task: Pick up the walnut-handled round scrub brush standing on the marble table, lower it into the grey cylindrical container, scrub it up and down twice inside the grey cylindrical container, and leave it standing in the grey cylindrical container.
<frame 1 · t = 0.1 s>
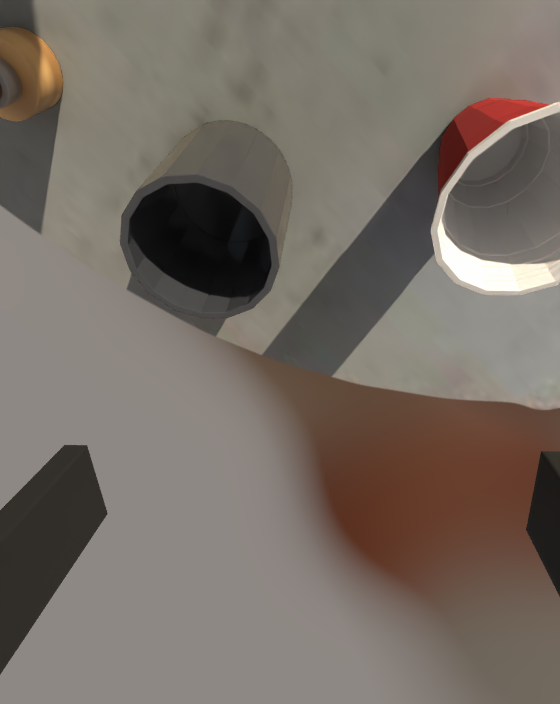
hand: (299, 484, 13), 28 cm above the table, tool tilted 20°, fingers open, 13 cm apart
plastic cup: (482, 143, 32), on the table
grey cylindrical container: (231, 187, 35), on the table
brush: (28, 69, 31), on the table
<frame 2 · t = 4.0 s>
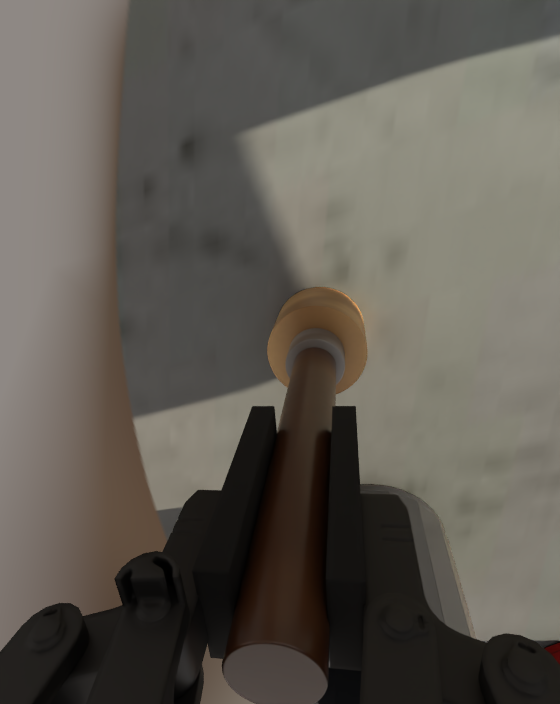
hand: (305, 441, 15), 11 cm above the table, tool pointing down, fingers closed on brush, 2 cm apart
grey cylindrical container: (371, 540, 31), on the table
brush: (319, 329, 25), on the table, touching gripper
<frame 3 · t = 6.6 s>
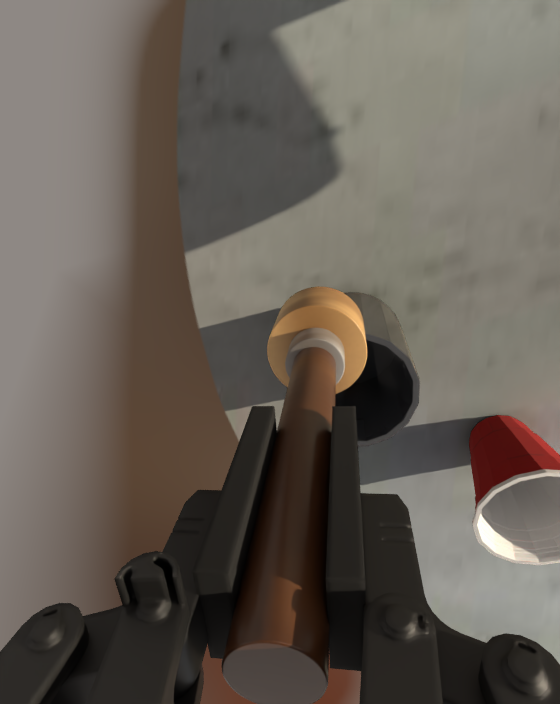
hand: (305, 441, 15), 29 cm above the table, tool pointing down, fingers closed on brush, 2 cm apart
plastic cup: (496, 438, 46), on the table
grey cylindrical container: (350, 340, 44), on the table
brush: (319, 329, 25), point 18 cm above the table, touching gripper
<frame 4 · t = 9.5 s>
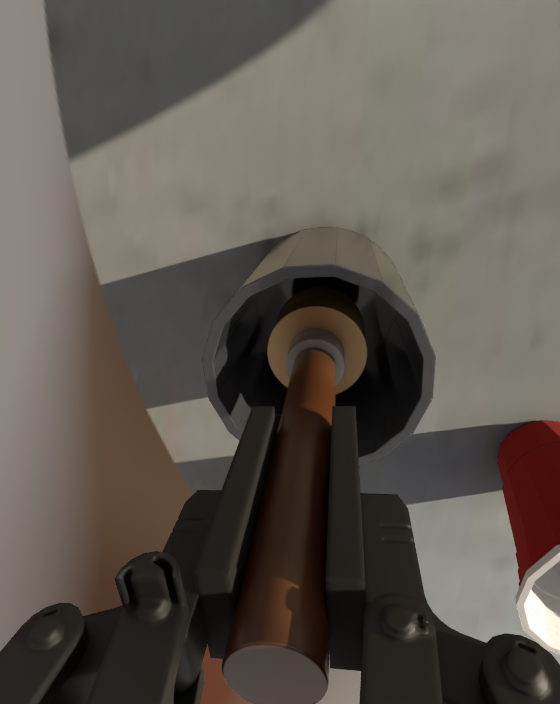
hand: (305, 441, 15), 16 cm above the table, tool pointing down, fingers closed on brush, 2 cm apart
plastic cup: (538, 454, 31), on the table
grey cylindrical container: (324, 304, 29), on the table
brush: (319, 329, 25), point 5 cm above the table, touching gripper
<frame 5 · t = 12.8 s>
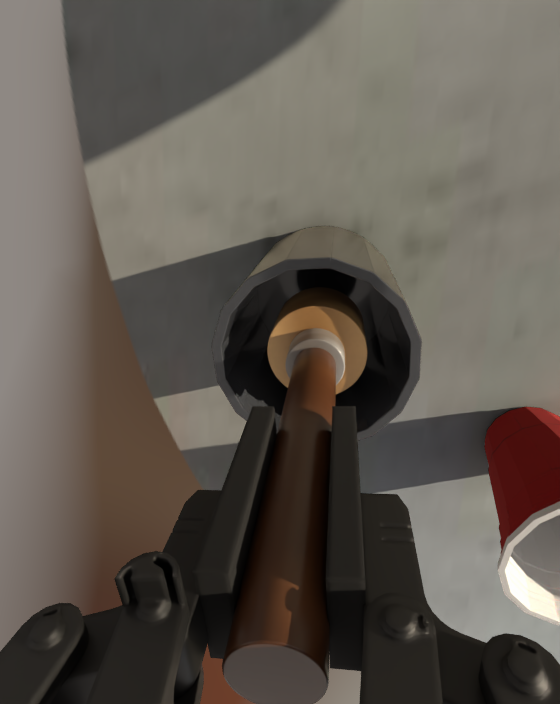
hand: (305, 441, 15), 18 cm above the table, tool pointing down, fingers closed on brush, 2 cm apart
plastic cup: (522, 439, 34), on the table
grey cylindrical container: (322, 298, 31), on the table
brush: (319, 329, 25), point 7 cm above the table, touching gripper
when the fingers open (12 cm above the table, at t = 14.9 s): brush stays where it is, resting on grey cylindrical container.
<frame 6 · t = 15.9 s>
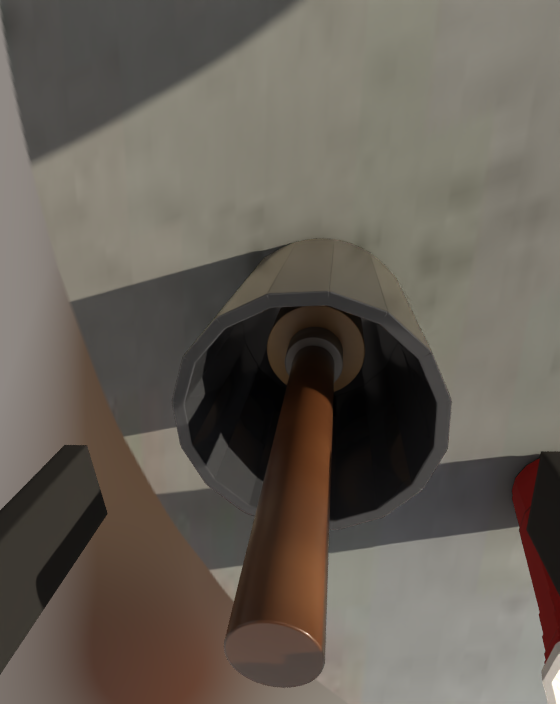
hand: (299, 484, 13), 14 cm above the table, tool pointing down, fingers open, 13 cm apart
plastic cup: (556, 488, 28), on the table
grey cylindrical container: (319, 323, 26), on the table
brush: (318, 328, 25), point 1 cm above the table, touching grey cylindrical container
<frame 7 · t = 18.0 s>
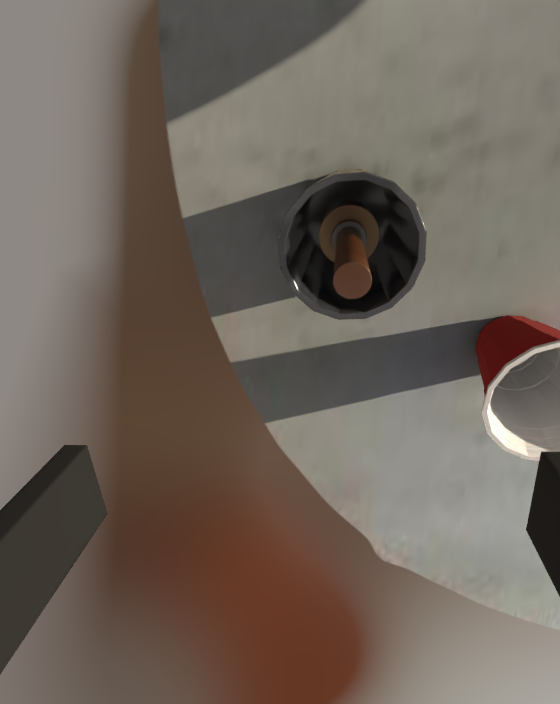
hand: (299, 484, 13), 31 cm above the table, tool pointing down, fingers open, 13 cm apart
plastic cup: (505, 344, 42), on the table
grey cylindrical container: (348, 228, 40), on the table
brush: (348, 230, 39), point 1 cm above the table, touching grey cylindrical container
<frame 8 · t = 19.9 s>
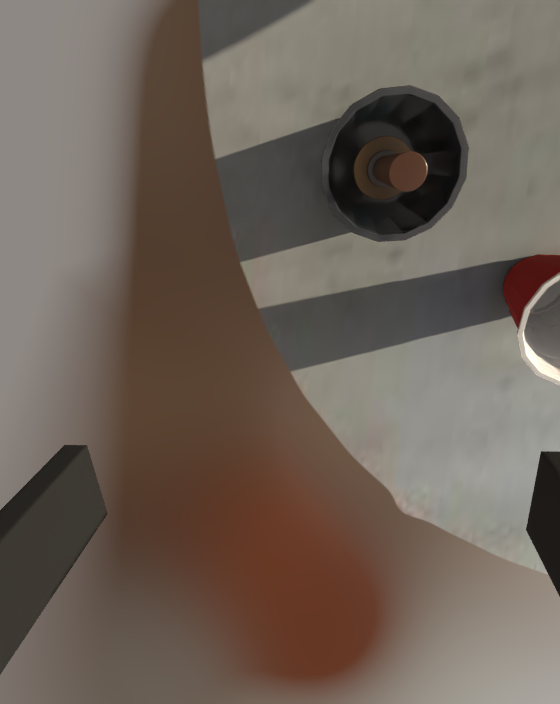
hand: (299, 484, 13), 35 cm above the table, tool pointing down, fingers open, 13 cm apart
plastic cup: (532, 285, 43), on the table
grey cylindrical container: (380, 167, 41), on the table
brush: (380, 168, 40), point 1 cm above the table, touching grey cylindrical container
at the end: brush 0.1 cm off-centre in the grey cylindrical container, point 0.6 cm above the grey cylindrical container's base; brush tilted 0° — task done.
